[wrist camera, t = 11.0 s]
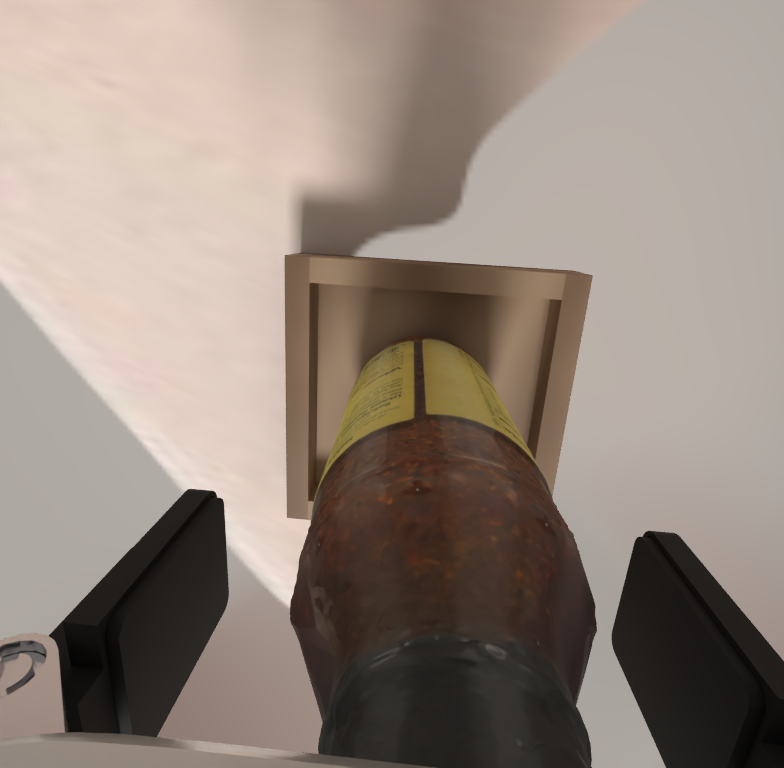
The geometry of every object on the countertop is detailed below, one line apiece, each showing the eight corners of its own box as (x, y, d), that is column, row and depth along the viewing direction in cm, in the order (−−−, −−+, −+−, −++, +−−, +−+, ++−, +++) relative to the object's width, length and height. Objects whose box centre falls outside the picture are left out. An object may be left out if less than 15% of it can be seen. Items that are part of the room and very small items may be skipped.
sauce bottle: (360, 458, 23) (75, 1453, 4) (350, 332, 21) (-240, 1119, 2) (497, 456, 23) (852, 1582, 4) (499, 326, 21) (1232, 1280, 2)
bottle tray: (573, 270, 21) (592, 275, 18) (532, 511, 24) (543, 541, 22) (300, 253, 21) (284, 255, 19) (300, 490, 25) (286, 517, 22)
